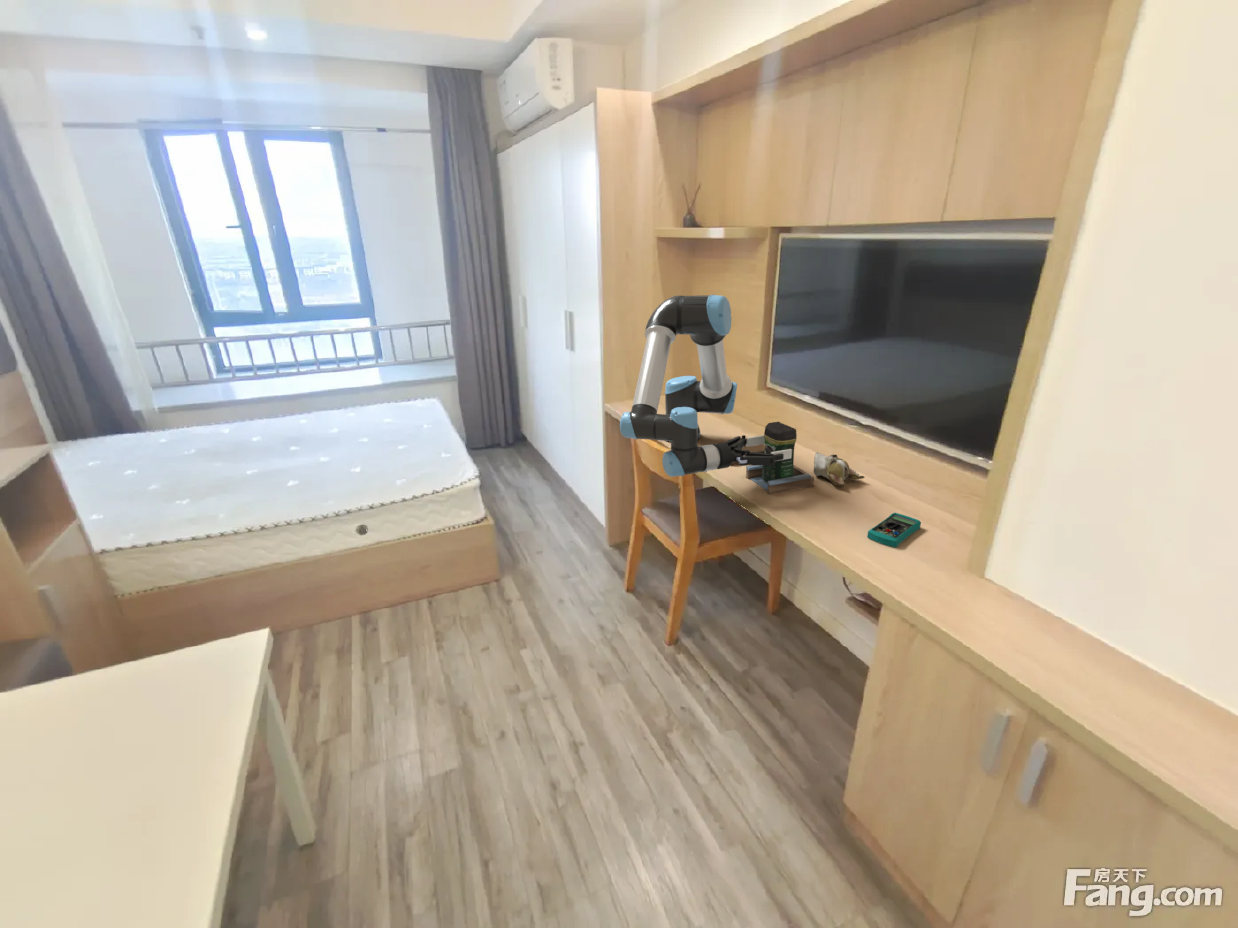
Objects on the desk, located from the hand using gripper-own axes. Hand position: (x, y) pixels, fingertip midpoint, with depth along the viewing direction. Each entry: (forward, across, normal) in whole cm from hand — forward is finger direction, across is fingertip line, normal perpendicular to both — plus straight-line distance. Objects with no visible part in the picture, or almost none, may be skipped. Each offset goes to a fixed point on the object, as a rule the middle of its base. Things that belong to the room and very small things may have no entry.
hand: (777, 446), depth 168 cm
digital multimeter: (+10, +38, -13) cm, 42 cm away
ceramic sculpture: (+18, +5, -12) cm, 22 cm away
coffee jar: (+1, 0, -12) cm, 12 cm away
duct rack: (+1, -6, -12) cm, 14 cm away
